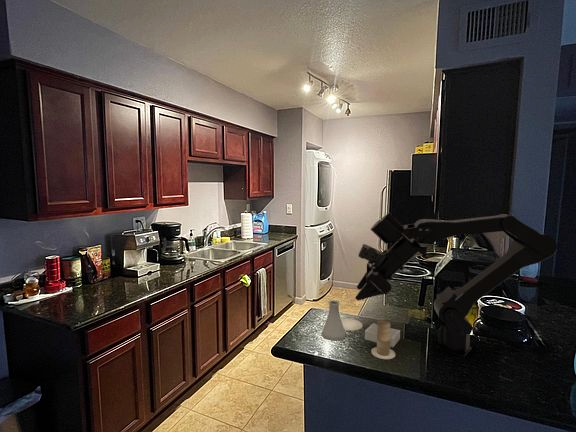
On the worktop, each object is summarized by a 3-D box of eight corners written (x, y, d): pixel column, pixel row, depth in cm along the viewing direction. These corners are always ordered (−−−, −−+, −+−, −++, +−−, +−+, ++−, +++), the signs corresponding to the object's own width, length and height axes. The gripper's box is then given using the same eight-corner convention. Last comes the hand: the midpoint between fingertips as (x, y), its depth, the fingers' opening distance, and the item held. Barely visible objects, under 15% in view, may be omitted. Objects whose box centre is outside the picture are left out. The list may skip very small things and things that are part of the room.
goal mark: (367, 324, 97) (367, 324, 97) (352, 333, 91) (352, 332, 91) (346, 317, 103) (346, 316, 103) (331, 324, 97) (331, 324, 97)
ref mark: (399, 353, 80) (399, 352, 80) (387, 362, 76) (387, 361, 76) (378, 344, 84) (378, 344, 84) (366, 352, 80) (366, 352, 80)
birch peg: (391, 352, 80) (392, 323, 79) (385, 357, 78) (386, 326, 77) (380, 348, 82) (381, 319, 82) (374, 352, 80) (374, 322, 80)
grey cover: (400, 339, 87) (400, 330, 87) (393, 347, 83) (393, 338, 82) (372, 331, 92) (373, 322, 92) (364, 339, 88) (364, 330, 87)
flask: (346, 342, 86) (346, 307, 85) (320, 340, 87) (320, 306, 86) (346, 330, 93) (346, 298, 92) (322, 328, 94) (322, 297, 94)
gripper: (375, 230, 93) (339, 265, 97) (376, 240, 75) (332, 282, 79) (403, 256, 92) (365, 290, 96) (411, 273, 74) (364, 314, 78)
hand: (357, 293), depth 87 cm, fingers open, 9 cm apart
